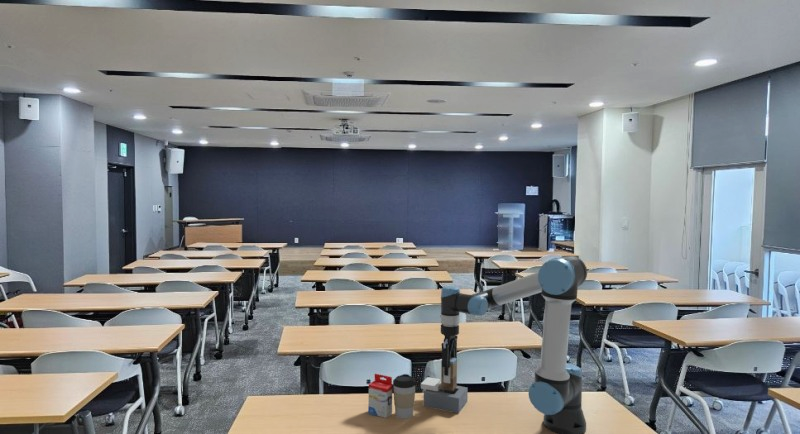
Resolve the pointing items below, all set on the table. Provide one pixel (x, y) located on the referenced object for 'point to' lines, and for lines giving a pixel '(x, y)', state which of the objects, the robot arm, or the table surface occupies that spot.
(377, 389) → the ink box
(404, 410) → the coffee cup
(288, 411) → the table surface
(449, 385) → the plug
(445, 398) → the socket block
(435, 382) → the lid
